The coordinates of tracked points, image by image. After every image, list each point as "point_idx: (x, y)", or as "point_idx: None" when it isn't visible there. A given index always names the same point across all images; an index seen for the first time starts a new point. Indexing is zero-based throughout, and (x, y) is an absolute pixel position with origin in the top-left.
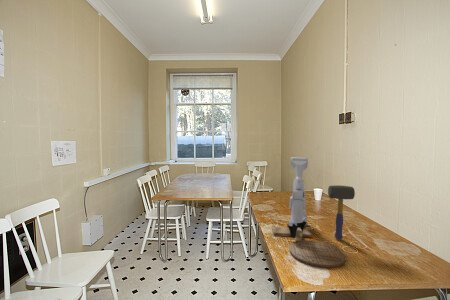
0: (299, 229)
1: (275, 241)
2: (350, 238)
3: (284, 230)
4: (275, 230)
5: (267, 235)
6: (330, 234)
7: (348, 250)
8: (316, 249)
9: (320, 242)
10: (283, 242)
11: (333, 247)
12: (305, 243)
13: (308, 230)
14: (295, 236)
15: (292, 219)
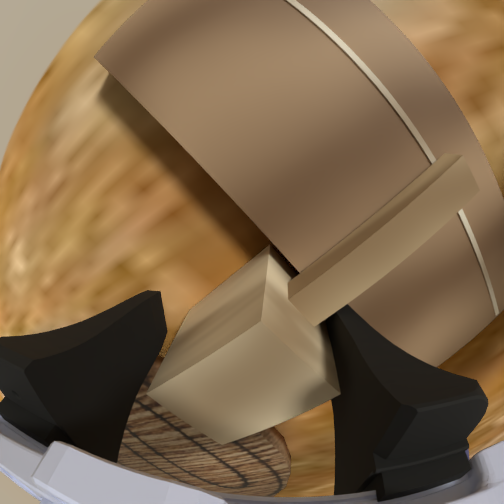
0: (239, 418)
1: (32, 187)
2: (470, 448)
3: (292, 80)
4: (176, 8)
5: (76, 38)
6: (499, 393)
7: (319, 494)
8: (154, 457)
9: (277, 462)
10: (67, 248)
11: (263, 492)
12: (160, 416)
13: (493, 318)
14: (158, 348)
15: (41, 501)
